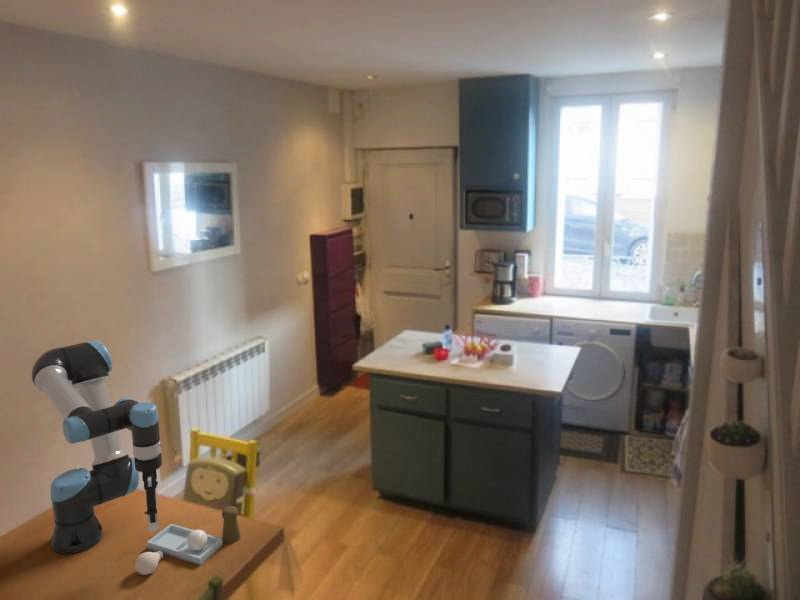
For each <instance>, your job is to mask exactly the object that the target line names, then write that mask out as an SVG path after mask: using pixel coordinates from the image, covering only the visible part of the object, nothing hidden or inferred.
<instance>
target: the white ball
mask: <svg viewBox="0 0 800 600" xmlns="http://www.w3.org/2000/svg"><path fill="white" fill-rule="evenodd" d="M193 530H194V531H192V532H191V533H190V534H189V535H188V537H187V545H188V547H189V548H190V549H191V550H194V551H198V550H201V549H202V548H204V547H205V545H206V544H207V535H206V534H207V533H206V532H205V531H204V530H202V529H193Z"/></svg>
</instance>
